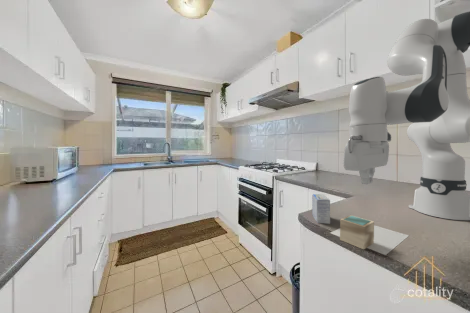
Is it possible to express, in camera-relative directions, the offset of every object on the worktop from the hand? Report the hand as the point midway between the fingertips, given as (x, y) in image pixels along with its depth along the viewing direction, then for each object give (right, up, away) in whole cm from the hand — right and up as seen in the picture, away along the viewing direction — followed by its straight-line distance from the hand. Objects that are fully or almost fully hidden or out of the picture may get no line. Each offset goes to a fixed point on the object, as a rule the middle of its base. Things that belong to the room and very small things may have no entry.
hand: (367, 183), depth 53 cm
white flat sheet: (+2, -16, +2) cm, 16 cm away
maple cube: (-4, -10, -2) cm, 11 cm away
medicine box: (-7, -16, +14) cm, 22 cm away
